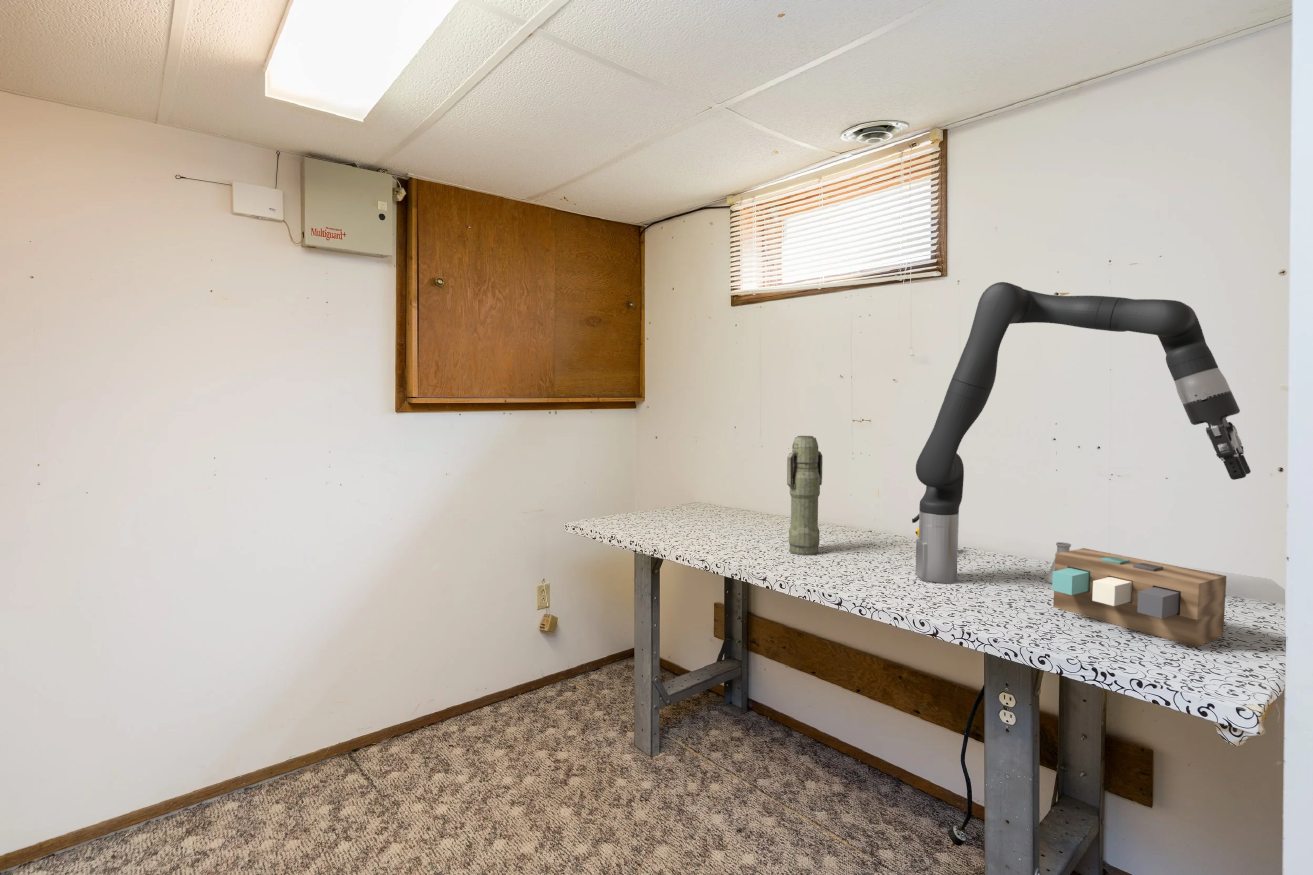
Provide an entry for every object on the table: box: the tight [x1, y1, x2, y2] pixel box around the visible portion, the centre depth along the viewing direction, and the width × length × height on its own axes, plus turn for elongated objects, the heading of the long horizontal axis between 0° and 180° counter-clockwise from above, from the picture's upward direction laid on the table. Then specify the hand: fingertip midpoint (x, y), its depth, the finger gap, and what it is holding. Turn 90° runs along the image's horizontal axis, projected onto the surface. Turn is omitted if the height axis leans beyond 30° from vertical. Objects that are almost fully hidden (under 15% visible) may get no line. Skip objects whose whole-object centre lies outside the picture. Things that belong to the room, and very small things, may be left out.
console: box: [1052, 547, 1227, 648], centre depth 132 cm, size 11×26×12 cm, turn 28°
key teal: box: [1051, 567, 1090, 595], centre depth 136 cm, size 10×4×4 cm, turn 118°
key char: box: [1137, 586, 1181, 619], centre depth 122 cm, size 10×4×4 cm, turn 118°
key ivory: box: [1092, 576, 1133, 606], centre depth 129 cm, size 10×4×4 cm, turn 118°
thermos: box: [786, 435, 823, 556], centre depth 191 cm, size 9×12×35 cm
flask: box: [1044, 541, 1072, 584], centre depth 160 cm, size 7×7×10 cm
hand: (1241, 476), depth 121 cm, fingers open, 8 cm apart
